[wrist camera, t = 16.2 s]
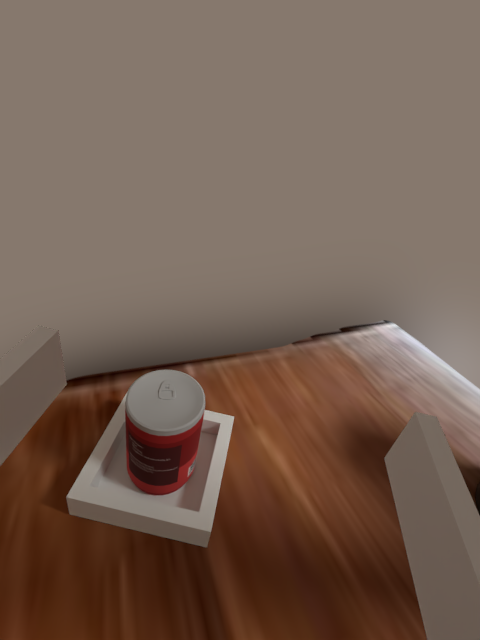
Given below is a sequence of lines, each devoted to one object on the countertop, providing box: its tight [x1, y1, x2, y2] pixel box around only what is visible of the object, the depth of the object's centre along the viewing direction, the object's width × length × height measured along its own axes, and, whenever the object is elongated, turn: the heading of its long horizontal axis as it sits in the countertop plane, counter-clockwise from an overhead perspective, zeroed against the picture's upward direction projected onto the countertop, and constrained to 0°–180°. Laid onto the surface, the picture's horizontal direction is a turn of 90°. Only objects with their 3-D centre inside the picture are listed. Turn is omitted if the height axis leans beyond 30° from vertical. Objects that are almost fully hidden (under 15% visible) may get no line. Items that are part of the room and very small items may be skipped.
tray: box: [66, 394, 234, 548], centre depth 39 cm, size 14×14×3 cm
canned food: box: [125, 370, 205, 495], centre depth 36 cm, size 8×8×11 cm
